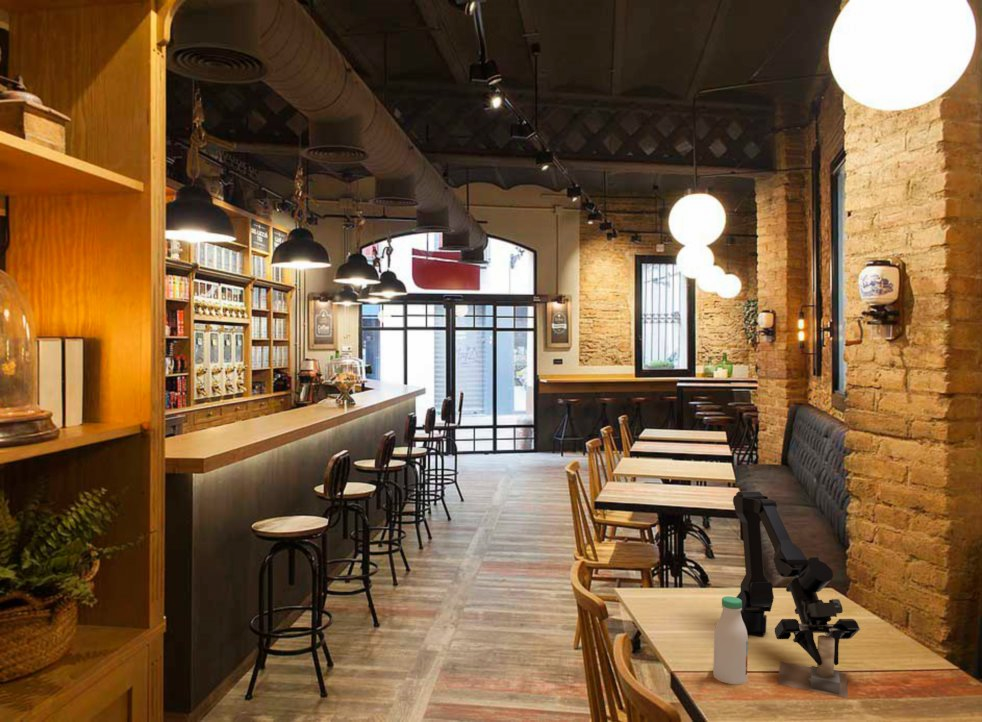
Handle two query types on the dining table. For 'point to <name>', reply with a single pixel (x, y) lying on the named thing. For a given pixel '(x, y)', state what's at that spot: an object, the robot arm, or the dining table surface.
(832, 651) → the tan and grey post
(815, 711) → the dining table surface
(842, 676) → the walnut board
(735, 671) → the milk bottle
